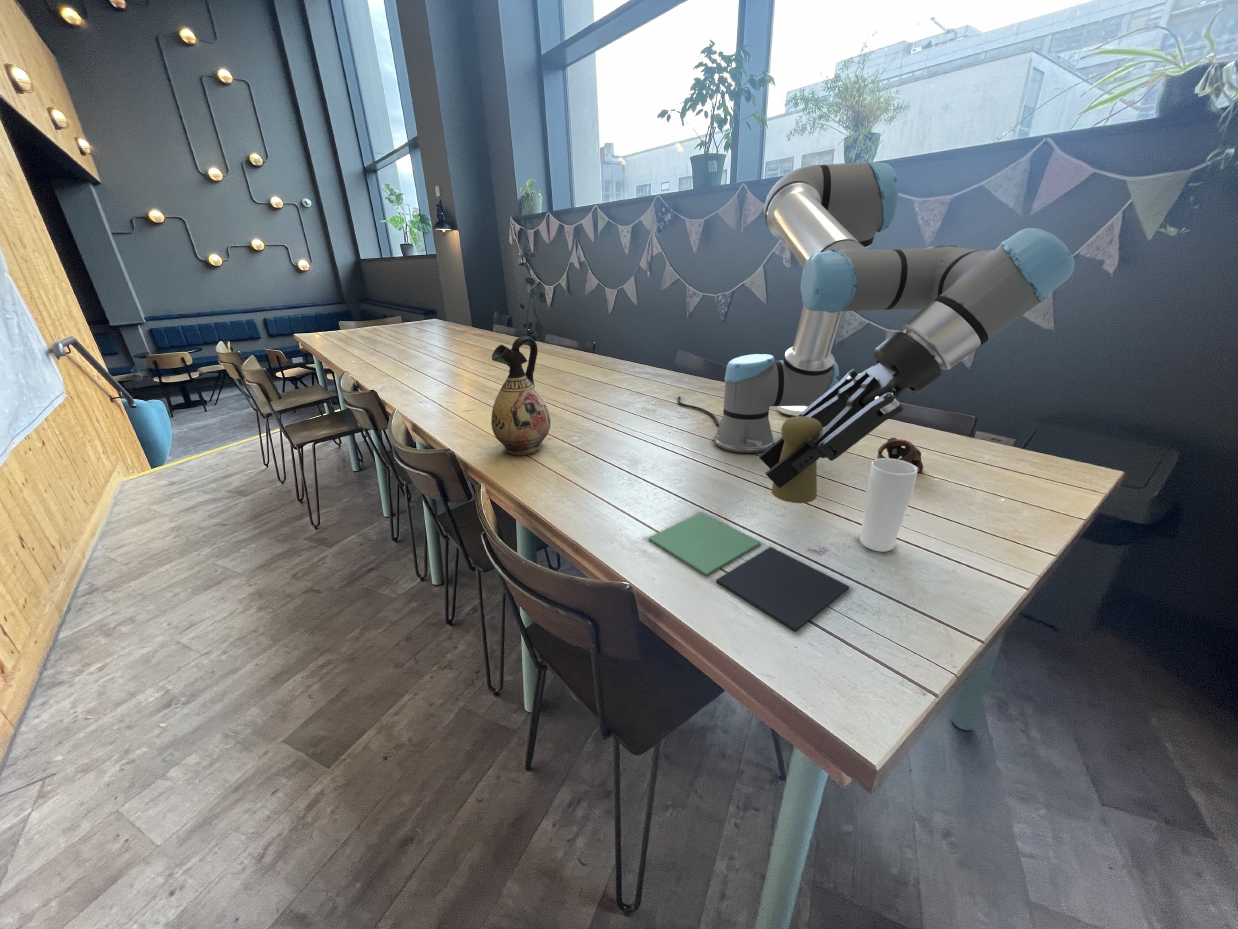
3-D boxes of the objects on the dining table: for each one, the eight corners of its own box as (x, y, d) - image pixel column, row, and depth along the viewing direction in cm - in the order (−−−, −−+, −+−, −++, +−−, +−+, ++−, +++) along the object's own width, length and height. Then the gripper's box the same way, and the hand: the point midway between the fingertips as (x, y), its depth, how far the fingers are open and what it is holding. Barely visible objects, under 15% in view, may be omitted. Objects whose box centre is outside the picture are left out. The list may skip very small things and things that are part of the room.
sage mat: (648, 539, 85) (648, 537, 85) (701, 514, 93) (701, 512, 93) (706, 576, 75) (706, 573, 75) (760, 544, 83) (760, 541, 82)
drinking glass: (897, 560, 77) (917, 477, 71) (852, 548, 81) (868, 469, 75) (899, 540, 82) (919, 462, 76) (857, 530, 86) (873, 454, 80)
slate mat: (716, 582, 73) (716, 579, 73) (770, 549, 81) (770, 546, 81) (795, 632, 63) (796, 629, 63) (848, 589, 71) (849, 586, 71)
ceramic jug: (513, 465, 118) (498, 344, 106) (485, 449, 129) (468, 338, 117) (568, 447, 128) (560, 335, 116) (538, 434, 139) (527, 330, 127)
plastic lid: (799, 422, 142) (800, 414, 141) (768, 410, 154) (768, 402, 153) (833, 415, 147) (835, 407, 146) (801, 404, 159) (802, 397, 158)
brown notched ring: (933, 480, 105) (927, 453, 100) (888, 494, 108) (880, 469, 104) (910, 447, 114) (904, 422, 110) (869, 461, 117) (862, 437, 113)
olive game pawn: (769, 499, 65) (777, 423, 60) (773, 481, 70) (781, 410, 65) (816, 506, 62) (828, 428, 58) (817, 487, 68) (828, 413, 63)
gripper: (983, 391, 49) (801, 522, 58) (907, 358, 66) (774, 463, 74) (941, 340, 48) (760, 482, 56) (874, 319, 64) (742, 431, 73)
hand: (768, 471), depth 65 cm, fingers closed on olive game pawn, 5 cm apart
